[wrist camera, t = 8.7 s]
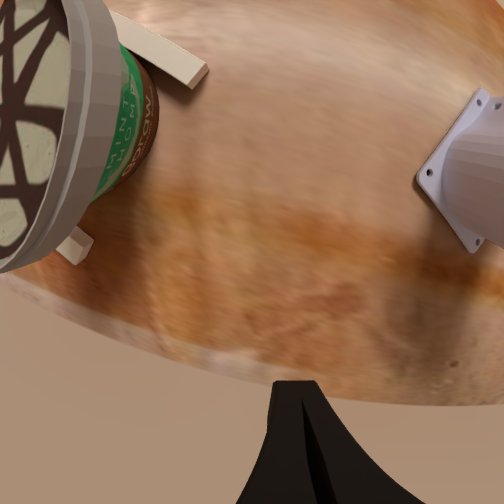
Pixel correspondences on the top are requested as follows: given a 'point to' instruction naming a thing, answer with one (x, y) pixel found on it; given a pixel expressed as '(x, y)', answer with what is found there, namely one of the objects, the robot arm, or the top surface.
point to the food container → (64, 120)
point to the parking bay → (161, 56)
